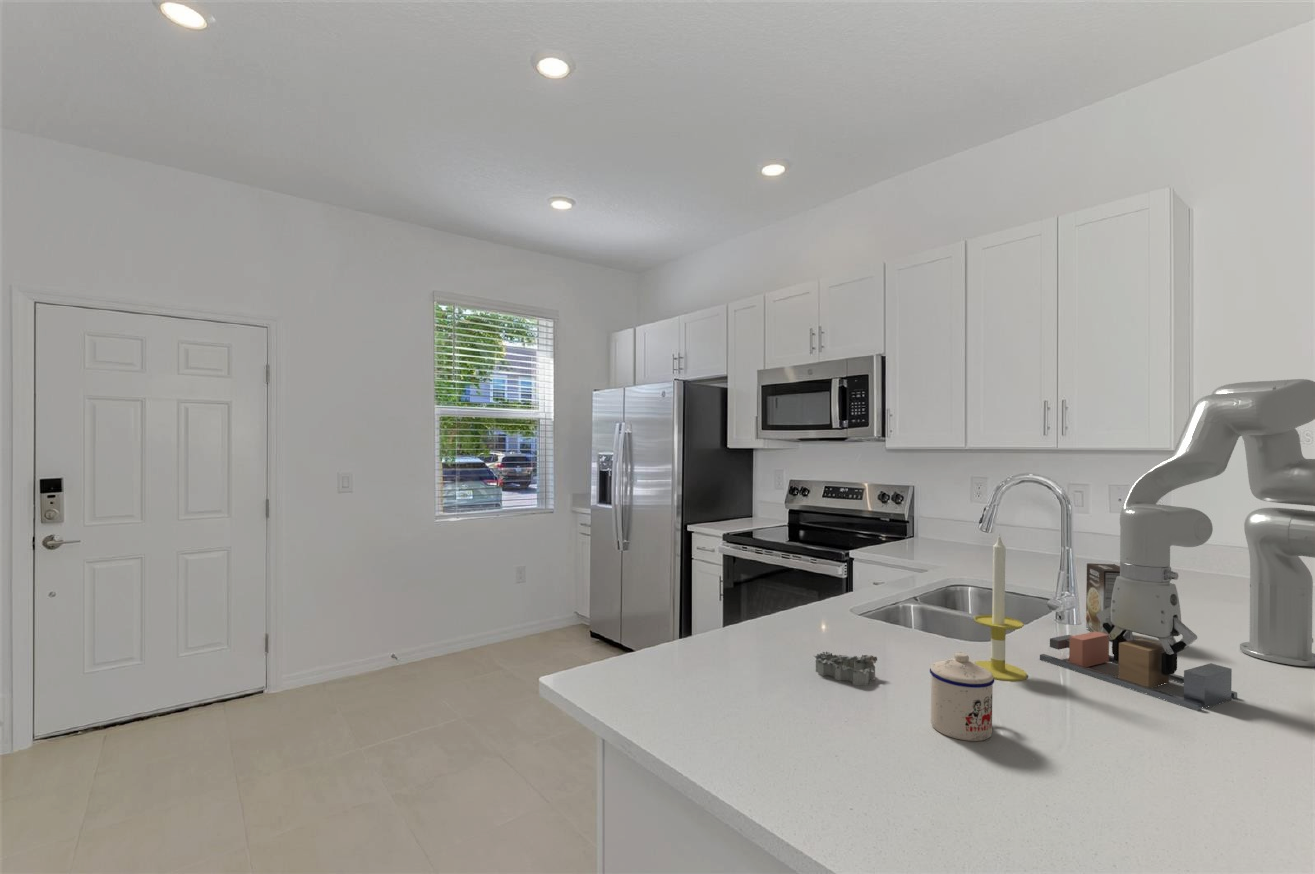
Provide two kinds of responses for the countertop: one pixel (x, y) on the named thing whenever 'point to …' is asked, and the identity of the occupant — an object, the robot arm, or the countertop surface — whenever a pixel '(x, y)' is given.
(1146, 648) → the block
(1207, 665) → the vise bed
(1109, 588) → the coffee box
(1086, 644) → the block
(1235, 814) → the countertop surface
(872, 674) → the egg carton
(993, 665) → the candle
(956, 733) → the teacup with lid
